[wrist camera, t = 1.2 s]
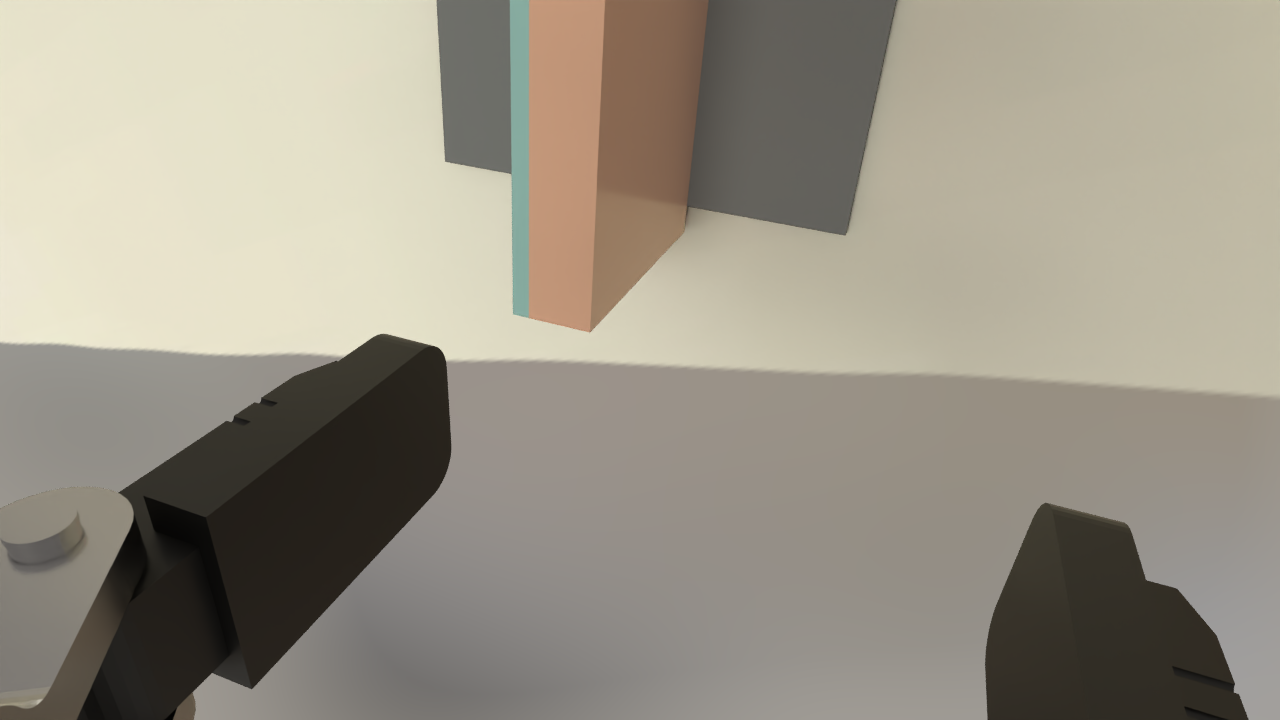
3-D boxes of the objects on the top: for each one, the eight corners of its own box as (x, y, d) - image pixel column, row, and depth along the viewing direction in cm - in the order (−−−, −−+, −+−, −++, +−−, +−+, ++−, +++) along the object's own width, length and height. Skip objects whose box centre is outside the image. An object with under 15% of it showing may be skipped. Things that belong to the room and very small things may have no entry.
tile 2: (712, -37, 25) (606, -26, 17) (684, 231, 29) (590, 332, 22) (641, -44, 25) (509, -36, 18) (624, 220, 30) (512, 314, 22)
